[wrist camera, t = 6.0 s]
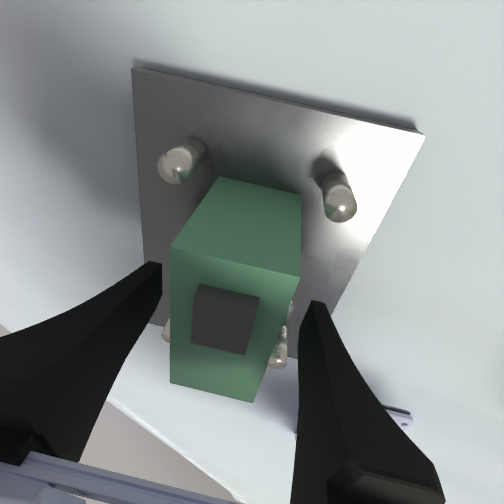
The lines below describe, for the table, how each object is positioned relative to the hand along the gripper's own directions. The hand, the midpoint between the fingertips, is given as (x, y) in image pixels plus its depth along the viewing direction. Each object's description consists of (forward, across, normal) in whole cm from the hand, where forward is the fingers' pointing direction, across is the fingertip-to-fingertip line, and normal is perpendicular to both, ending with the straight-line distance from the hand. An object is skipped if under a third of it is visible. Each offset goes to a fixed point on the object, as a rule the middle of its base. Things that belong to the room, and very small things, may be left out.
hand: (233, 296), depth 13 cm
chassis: (+4, 0, 0) cm, 4 cm away
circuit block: (+3, 0, 0) cm, 3 cm away
